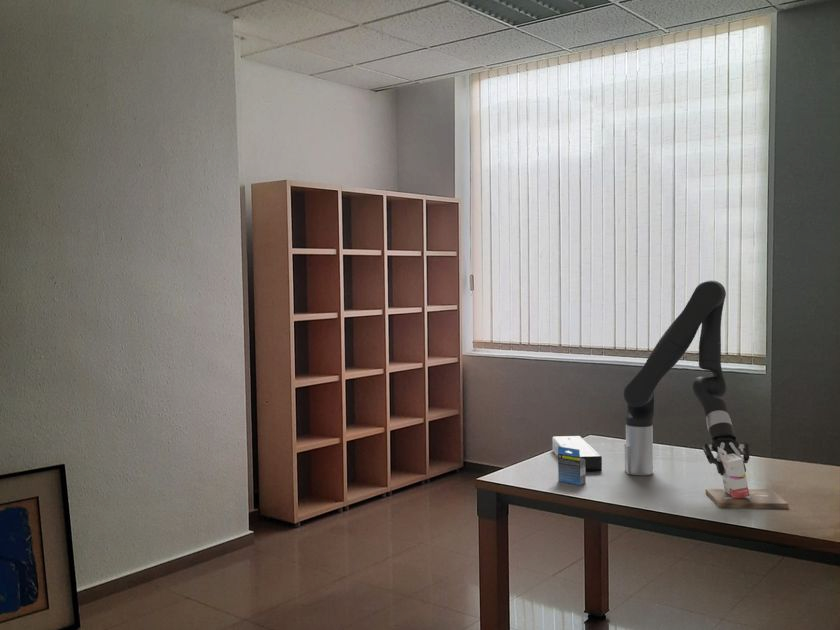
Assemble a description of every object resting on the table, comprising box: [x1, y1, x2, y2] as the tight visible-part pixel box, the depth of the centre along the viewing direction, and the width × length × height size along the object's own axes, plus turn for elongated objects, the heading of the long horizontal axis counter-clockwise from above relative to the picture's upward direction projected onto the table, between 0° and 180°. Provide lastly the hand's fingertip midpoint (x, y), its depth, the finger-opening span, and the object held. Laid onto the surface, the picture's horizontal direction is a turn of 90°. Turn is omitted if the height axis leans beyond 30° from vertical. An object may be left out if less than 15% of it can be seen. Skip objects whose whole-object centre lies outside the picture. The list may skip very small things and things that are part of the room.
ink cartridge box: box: [718, 447, 750, 499], centre depth 238 cm, size 9×5×15 cm, turn 178°
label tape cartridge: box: [557, 446, 587, 486], centre depth 262 cm, size 9×4×12 cm, turn 47°
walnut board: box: [705, 488, 789, 509], centre depth 238 cm, size 20×15×2 cm
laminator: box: [551, 435, 603, 473], centre depth 291 cm, size 34×12×6 cm, turn 1°
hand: (732, 473), depth 237 cm, fingers closed on ink cartridge box, 5 cm apart
